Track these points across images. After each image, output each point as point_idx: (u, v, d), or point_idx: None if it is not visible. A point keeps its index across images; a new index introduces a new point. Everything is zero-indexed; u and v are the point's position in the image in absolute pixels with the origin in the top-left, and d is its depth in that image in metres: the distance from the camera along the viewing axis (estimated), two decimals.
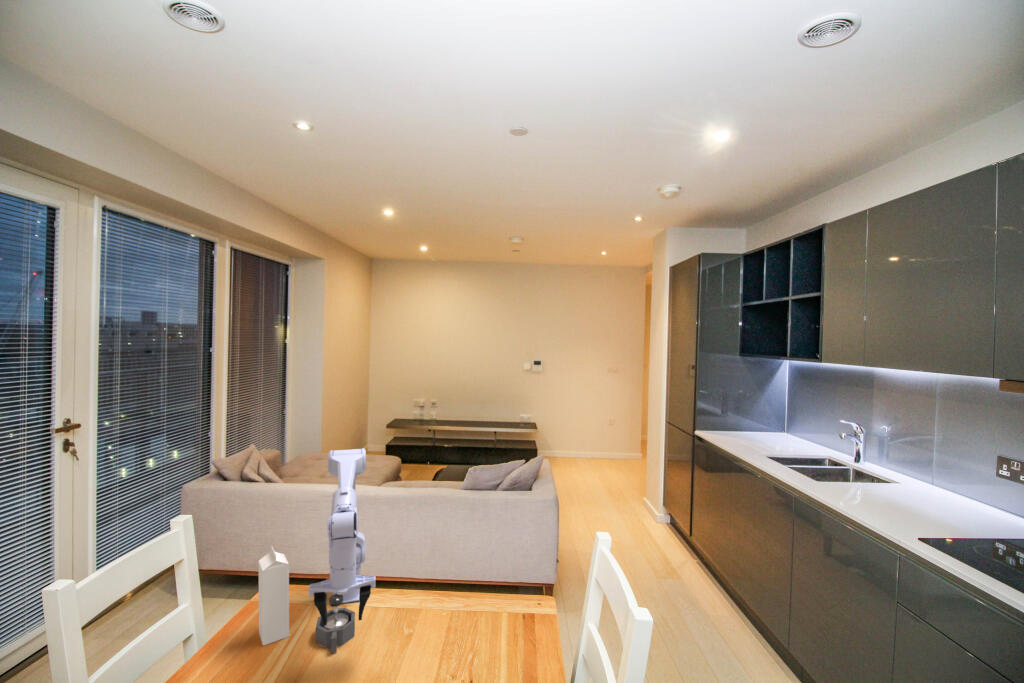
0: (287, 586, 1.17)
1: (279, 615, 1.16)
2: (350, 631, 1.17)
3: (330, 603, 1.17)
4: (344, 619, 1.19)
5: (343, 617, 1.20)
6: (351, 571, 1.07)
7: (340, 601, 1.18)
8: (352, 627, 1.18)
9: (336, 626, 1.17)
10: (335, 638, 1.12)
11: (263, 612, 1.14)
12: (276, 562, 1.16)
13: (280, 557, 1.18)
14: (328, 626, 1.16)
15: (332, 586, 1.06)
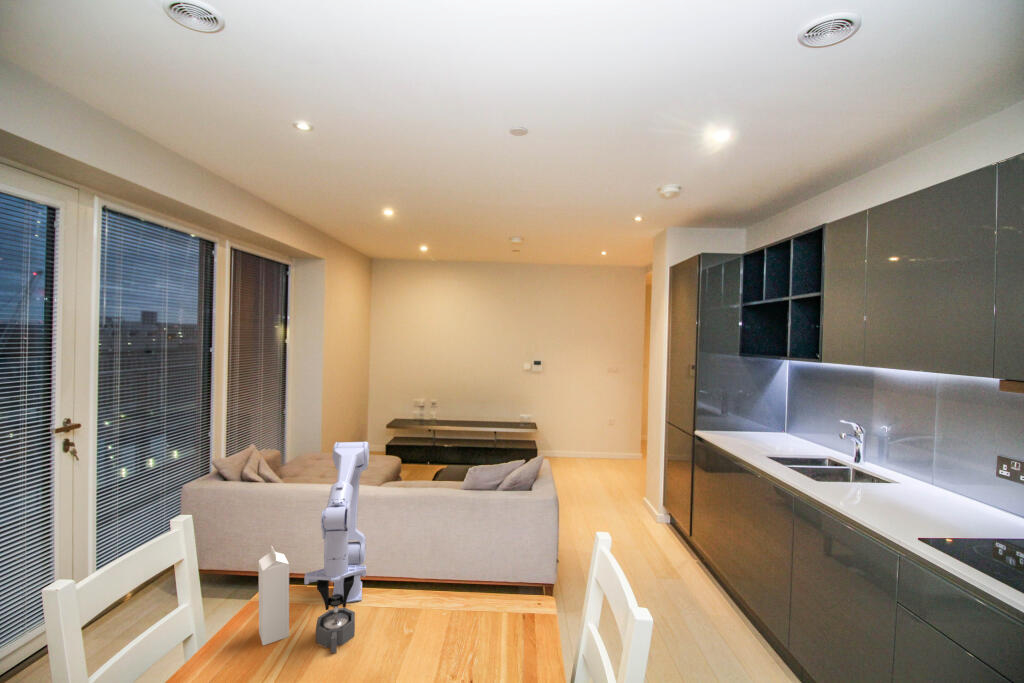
0: (287, 586, 1.17)
1: (279, 615, 1.16)
2: (350, 631, 1.17)
3: (330, 603, 1.17)
4: (344, 619, 1.19)
5: (343, 617, 1.20)
6: (344, 561, 1.17)
7: (340, 601, 1.18)
8: (352, 627, 1.18)
9: (336, 626, 1.17)
10: (335, 638, 1.12)
11: (263, 612, 1.14)
12: (276, 562, 1.16)
13: (280, 557, 1.18)
14: (328, 626, 1.16)
15: (326, 574, 1.16)
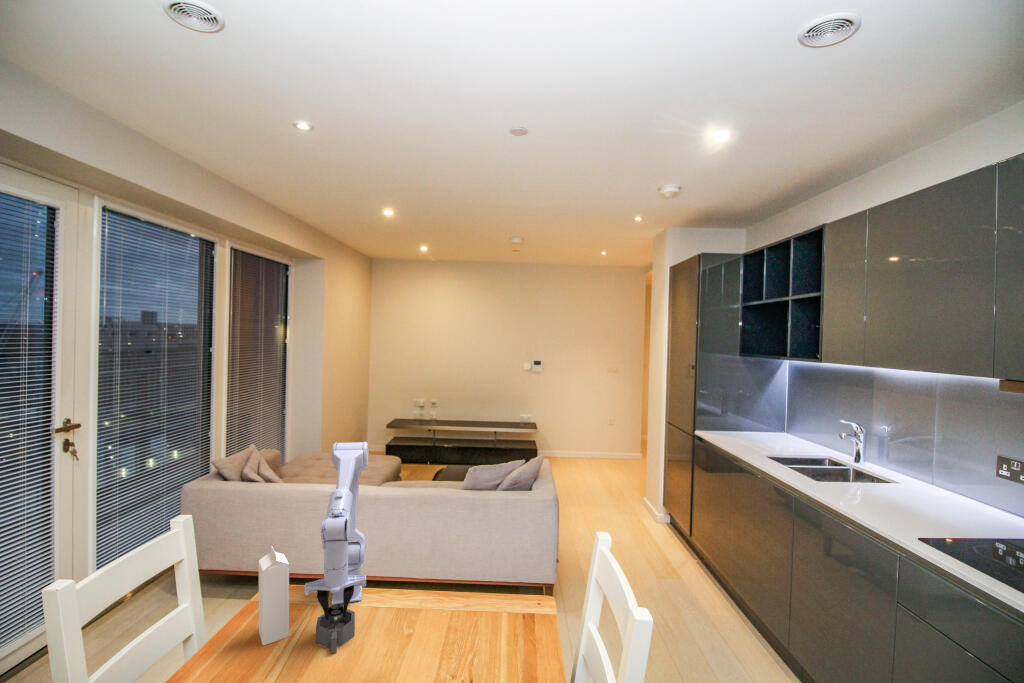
0: (287, 586, 1.17)
1: (279, 615, 1.16)
2: (350, 631, 1.17)
3: (330, 613, 1.17)
4: None
5: None
6: (344, 571, 1.17)
7: (340, 611, 1.18)
8: (352, 627, 1.18)
9: None
10: (335, 638, 1.12)
11: (263, 612, 1.14)
12: (276, 562, 1.16)
13: (280, 557, 1.18)
14: None
15: (326, 585, 1.16)
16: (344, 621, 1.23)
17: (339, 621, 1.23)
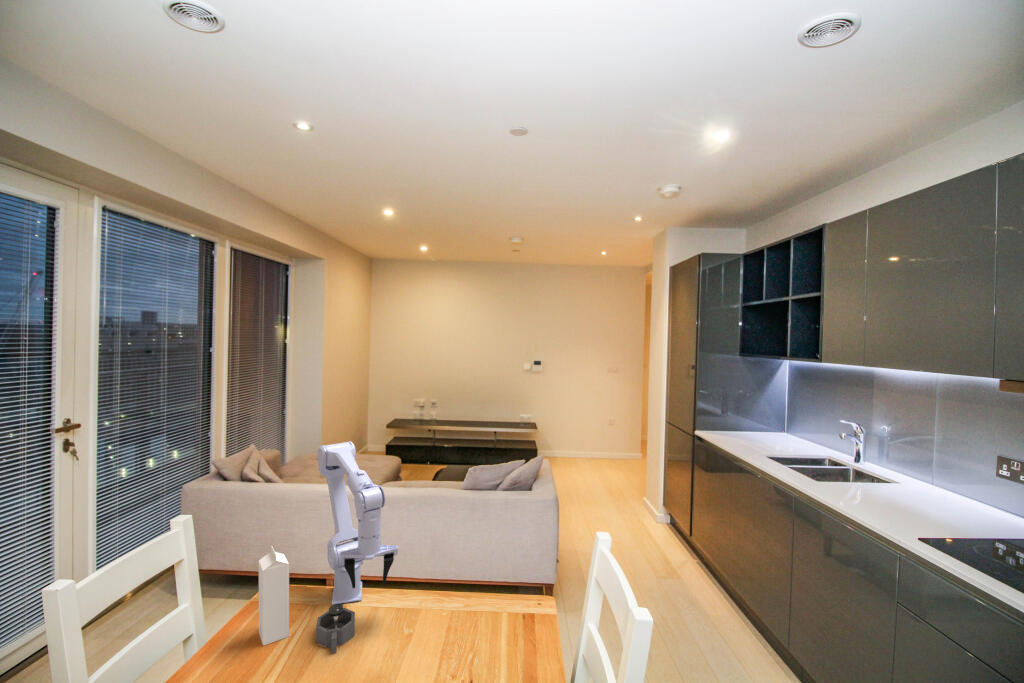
0: (287, 586, 1.17)
1: (279, 615, 1.16)
2: (350, 631, 1.17)
3: (330, 613, 1.17)
4: None
5: None
6: (377, 540, 1.22)
7: (340, 611, 1.18)
8: (352, 627, 1.18)
9: None
10: (335, 638, 1.12)
11: (263, 612, 1.14)
12: (276, 562, 1.16)
13: (280, 557, 1.18)
14: None
15: (360, 553, 1.21)
16: (344, 621, 1.23)
17: (339, 621, 1.23)
